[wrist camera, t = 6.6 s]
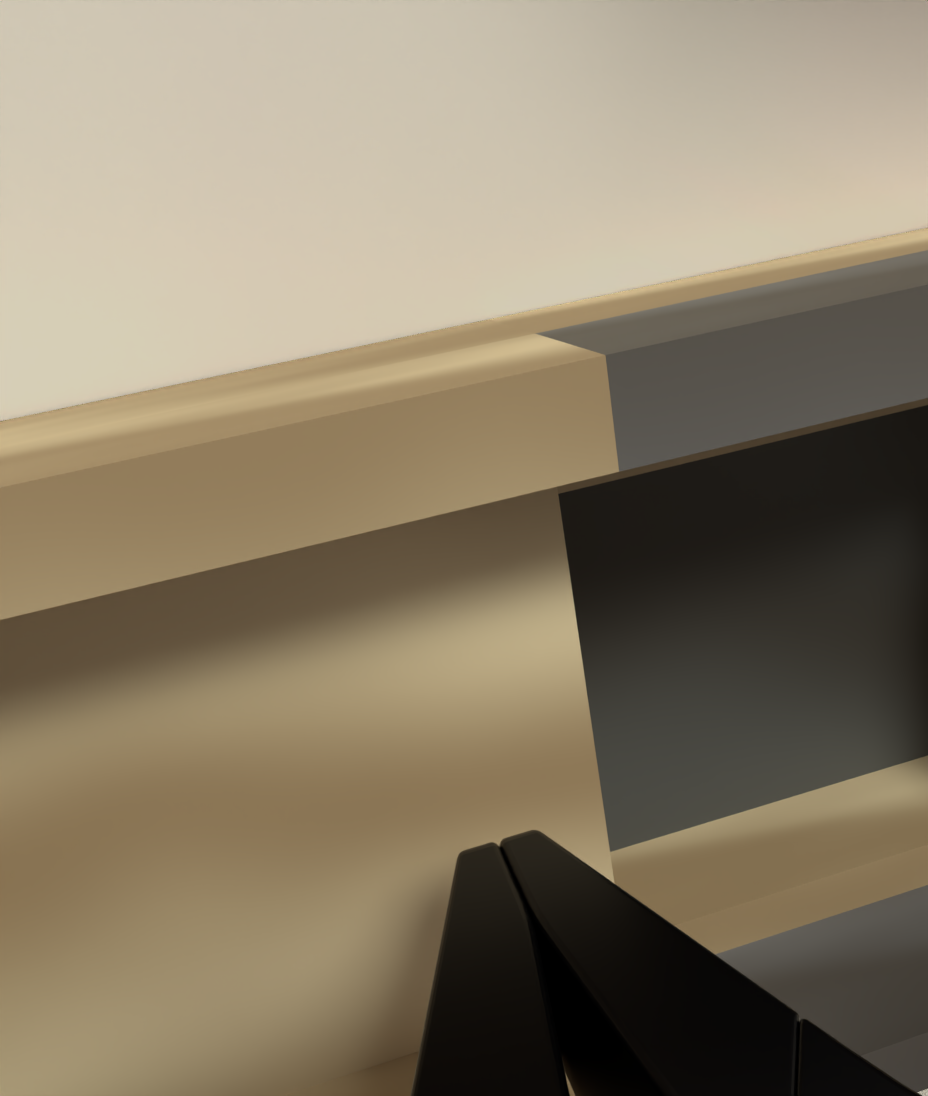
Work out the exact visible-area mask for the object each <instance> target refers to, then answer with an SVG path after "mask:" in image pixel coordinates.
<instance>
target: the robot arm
mask: <svg viewBox="0 0 928 1096" xmlns="http://www.w3.org/2000/svg"><path fill="white" fill-rule="evenodd" d="M565 1073H566V1074H565ZM566 1075H567V1078H568V1080H569V1082H570V1085H571V1087H572V1089H573V1092H574V1094H575V1096H922V1095H920V1094H918V1093H917V1092H915V1091H913V1090H912V1089H910V1088H908V1087H907V1086H905V1085H903V1084H902V1083H900V1082H899V1081H897V1080H896V1079H894V1078H893V1077H891V1076H890V1075H888V1074H887V1073H885V1072H884V1071H882V1070H881V1069H879V1068H878V1067H876V1066H875V1065H873V1064H872V1063H870V1062H869V1061H867V1060H866V1059H864V1058H863V1057H861V1056H860V1055H858V1054H857V1053H855V1052H854V1051H852V1050H851V1049H849V1048H848V1047H846V1046H845V1045H843V1044H842V1043H840V1042H839V1041H838V1040H836V1039H835V1038H833V1037H832V1036H831V1035H829V1034H828V1033H826V1032H825V1031H823V1030H822V1029H821V1028H819V1027H818V1026H816V1025H815V1024H814V1023H812V1022H811V1021H809V1020H808V1019H806V1018H803V1019H801V1020H800V1018H799V1014H798V1013H797V1012H796V1011H795V1010H793V1009H792V1008H790V1007H789V1006H788V1005H786V1004H785V1003H783V1002H782V1001H780V1000H779V999H778V998H776V997H775V996H773V995H772V994H771V993H769V992H768V991H766V990H765V989H763V988H762V987H761V986H759V985H758V984H756V983H755V982H754V981H752V980H751V979H749V978H748V977H746V976H745V975H744V974H742V973H741V972H739V971H738V970H736V969H735V968H734V967H732V966H731V965H729V964H728V963H727V962H725V961H724V960H722V959H721V958H719V957H718V956H717V955H715V954H714V953H712V952H711V951H710V950H708V949H707V948H705V947H704V946H702V945H701V944H700V943H698V942H697V941H695V940H694V939H692V938H691V937H690V936H688V935H687V934H685V933H684V932H683V931H681V930H680V929H678V928H677V927H675V926H674V925H673V924H671V923H670V922H668V921H667V920H666V919H664V918H663V917H661V916H660V915H658V914H657V913H656V912H654V911H653V910H651V909H650V908H649V907H647V906H646V905H644V904H643V903H641V902H640V901H639V900H637V899H636V898H634V897H633V896H631V895H630V894H629V893H627V892H626V891H624V890H623V889H622V888H620V887H619V886H617V885H616V884H614V883H613V882H612V881H610V880H609V879H607V878H606V877H605V876H603V875H602V874H600V873H599V872H597V871H596V870H595V869H593V868H592V867H590V866H589V865H588V864H586V863H585V862H583V861H582V860H580V859H579V858H578V857H576V856H575V855H573V854H572V853H570V852H569V851H568V850H566V849H565V848H563V847H562V846H561V845H559V844H558V843H556V842H555V841H553V840H552V839H551V838H549V837H548V836H546V835H545V834H544V833H542V832H540V831H538V830H530V831H526V832H523V833H520V834H516V835H513V836H510V837H506V838H504V839H502V841H501V842H500V846H498V845H497V844H496V843H494V842H490V843H486V844H483V845H480V846H476V847H473V848H470V849H466V850H463V851H461V852H460V853H459V855H458V857H457V860H456V865H455V870H454V876H453V881H452V886H451V891H450V896H449V901H448V906H447V911H446V916H445V921H444V926H443V931H442V937H441V942H440V947H439V952H438V957H437V962H436V967H435V972H434V977H433V982H432V987H431V992H430V998H429V1003H428V1008H427V1013H426V1018H425V1023H424V1028H423V1033H422V1038H421V1043H420V1048H419V1053H418V1059H417V1064H416V1069H415V1074H414V1079H413V1084H412V1089H411V1094H410V1096H570V1094H569V1089H568V1084H567V1079H566Z"/></svg>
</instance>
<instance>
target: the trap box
mask: <svg viewBox="0 0 928 1096" xmlns="http://www.w3.org/2000/svg"><path fill="white" fill-rule="evenodd" d="M530 830H538V831H540V832H542V833H544V834H545V835H546V836H548V837H549V838H551V839H552V840H553V841H555V842H556V843H558V844H559V845H561V846H562V847H563V848H565V849H566V850H568V851H569V852H570V853H572V854H573V855H575V856H576V857H578V858H579V859H580V860H582V861H583V862H585V863H586V864H588V865H589V866H590V867H592V868H593V869H595V870H596V871H597V872H599V873H600V874H602V875H603V876H605V877H606V878H607V879H609V880H610V881H612V882H613V883H614V884H616V885H617V886H619V887H620V888H622V889H623V890H624V891H626V892H627V893H629V894H630V895H631V896H633V897H634V898H636V899H637V900H639V901H640V902H641V903H643V904H644V905H646V906H647V907H649V908H650V909H651V910H653V911H654V912H656V913H657V914H658V915H660V916H661V917H663V918H664V919H666V920H667V921H668V922H670V923H671V924H673V925H674V926H675V927H677V928H678V929H680V930H681V931H683V932H684V933H685V934H687V935H688V936H690V937H691V938H692V939H694V940H695V941H697V942H698V943H700V944H701V945H702V946H704V947H705V948H707V949H708V950H710V951H711V952H712V953H714V954H715V955H717V956H718V957H719V958H721V959H722V960H724V961H725V962H727V963H728V964H729V965H731V966H732V967H734V968H735V969H736V970H738V971H739V972H741V973H742V974H744V975H745V976H746V977H748V978H749V979H751V980H752V981H754V982H755V983H756V984H758V985H759V986H761V987H762V988H763V989H765V990H766V991H768V992H769V993H771V994H772V995H773V996H775V997H776V998H778V999H779V1000H780V1001H782V1002H783V1003H785V1004H786V1005H788V1006H789V1007H790V1008H792V1009H793V1010H795V1011H796V1012H797V1013H798V1014H799V1018H800V1020H801V1019H803V1018H806V1019H808V1020H809V1021H811V1022H812V1023H814V1024H815V1025H816V1026H818V1027H819V1028H821V1029H822V1030H823V1031H825V1032H826V1033H828V1034H829V1035H831V1036H832V1037H833V1038H835V1039H836V1040H838V1041H839V1042H840V1043H842V1044H843V1045H845V1046H846V1047H848V1048H849V1049H851V1050H852V1051H854V1052H855V1053H857V1054H858V1055H860V1056H861V1057H863V1058H864V1059H866V1060H867V1061H869V1062H870V1063H872V1064H873V1065H875V1066H876V1067H878V1068H879V1069H881V1070H882V1071H884V1072H885V1073H887V1074H888V1075H890V1076H891V1077H893V1078H894V1079H896V1080H897V1081H899V1082H900V1083H902V1084H903V1085H905V1086H907V1087H908V1088H910V1089H912V1090H913V1091H915V1092H919V1091H922V1090H925V1089H927V1088H928V228H925V229H920V230H915V231H910V232H906V233H901V234H896V235H891V236H886V237H882V238H877V239H872V240H867V241H862V242H858V243H853V244H848V245H843V246H838V247H834V248H829V249H824V250H819V251H814V252H810V253H805V254H800V255H795V256H791V257H786V258H781V259H776V260H771V261H767V262H762V263H757V264H752V265H747V266H743V267H738V268H733V269H728V270H723V271H719V272H714V273H709V274H704V275H699V276H695V277H690V278H685V279H680V280H675V281H671V282H666V283H661V284H656V285H652V286H647V287H642V288H637V289H632V290H628V291H623V292H618V293H613V294H608V295H604V296H599V297H594V298H589V299H584V300H580V301H575V302H570V303H565V304H560V305H556V306H551V307H546V308H541V309H537V310H532V311H527V312H522V313H517V314H513V315H508V316H503V317H498V318H493V319H489V320H484V321H479V322H474V323H469V324H465V325H460V326H455V327H450V328H445V329H441V330H436V331H431V332H426V333H422V334H417V335H412V336H407V337H402V338H398V339H393V340H388V341H383V342H378V343H374V344H369V345H364V346H359V347H354V348H350V349H345V350H340V351H335V352H330V353H326V354H321V355H316V356H311V357H307V358H302V359H297V360H292V361H287V362H283V363H278V364H273V365H268V366H263V367H259V368H254V369H249V370H244V371H239V372H235V373H230V374H225V375H220V376H215V377H211V378H206V379H201V380H196V381H192V382H187V383H182V384H177V385H172V386H168V387H163V388H158V389H153V390H148V391H144V392H139V393H134V394H129V395H124V396H120V397H115V398H110V399H105V400H100V401H96V402H91V403H86V404H81V405H77V406H72V407H67V408H62V409H57V410H53V411H48V412H43V413H38V414H33V415H29V416H24V417H19V418H14V419H9V420H5V421H0V1096H410V1094H411V1089H412V1084H413V1079H414V1074H415V1069H416V1064H417V1059H418V1053H419V1048H420V1043H421V1038H422V1033H423V1028H424V1023H425V1018H426V1013H427V1008H428V1003H429V998H430V992H431V987H432V982H433V977H434V972H435V967H436V962H437V957H438V952H439V947H440V942H441V937H442V931H443V926H444V921H445V916H446V911H447V906H448V901H449V896H450V891H451V886H452V881H453V876H454V870H455V865H456V860H457V857H458V855H459V853H460V852H461V851H463V850H466V849H470V848H473V847H476V846H480V845H483V844H486V843H490V842H494V843H496V844H497V845H498V846H500V842H501V841H502V839H504V838H506V837H510V836H513V835H516V834H520V833H523V832H526V831H530ZM565 1074H566V1073H565ZM566 1079H567V1084H568V1089H569V1094H570V1096H575V1094H574V1092H573V1089H572V1087H571V1085H570V1082H569V1080H568V1078H567V1075H566Z"/></svg>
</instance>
